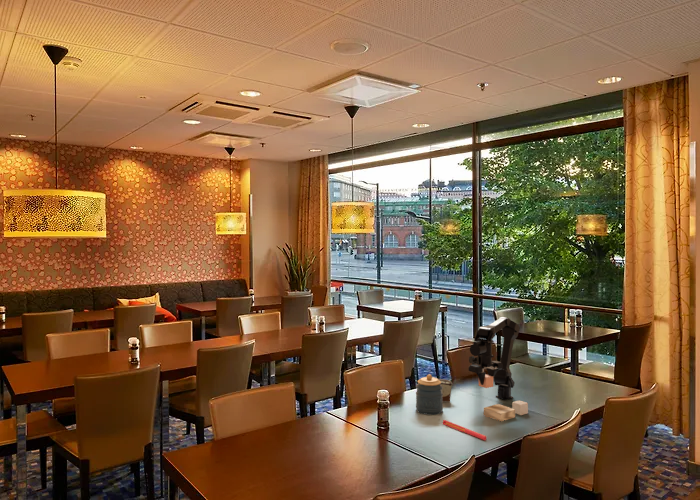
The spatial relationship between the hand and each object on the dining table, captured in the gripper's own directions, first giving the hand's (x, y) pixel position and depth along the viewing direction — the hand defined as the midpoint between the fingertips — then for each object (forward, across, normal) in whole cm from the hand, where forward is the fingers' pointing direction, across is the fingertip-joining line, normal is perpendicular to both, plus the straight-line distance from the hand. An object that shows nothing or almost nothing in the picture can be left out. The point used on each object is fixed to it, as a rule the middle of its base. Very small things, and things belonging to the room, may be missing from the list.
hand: (485, 384), depth 258 cm
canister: (+11, +28, -10) cm, 32 cm away
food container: (+11, +12, -20) cm, 26 cm away
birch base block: (+11, +6, +14) cm, 19 cm away
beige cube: (+11, -6, +16) cm, 20 cm away
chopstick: (+12, +33, +19) cm, 40 cm away
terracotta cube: (+1, 0, 0) cm, 1 cm away
